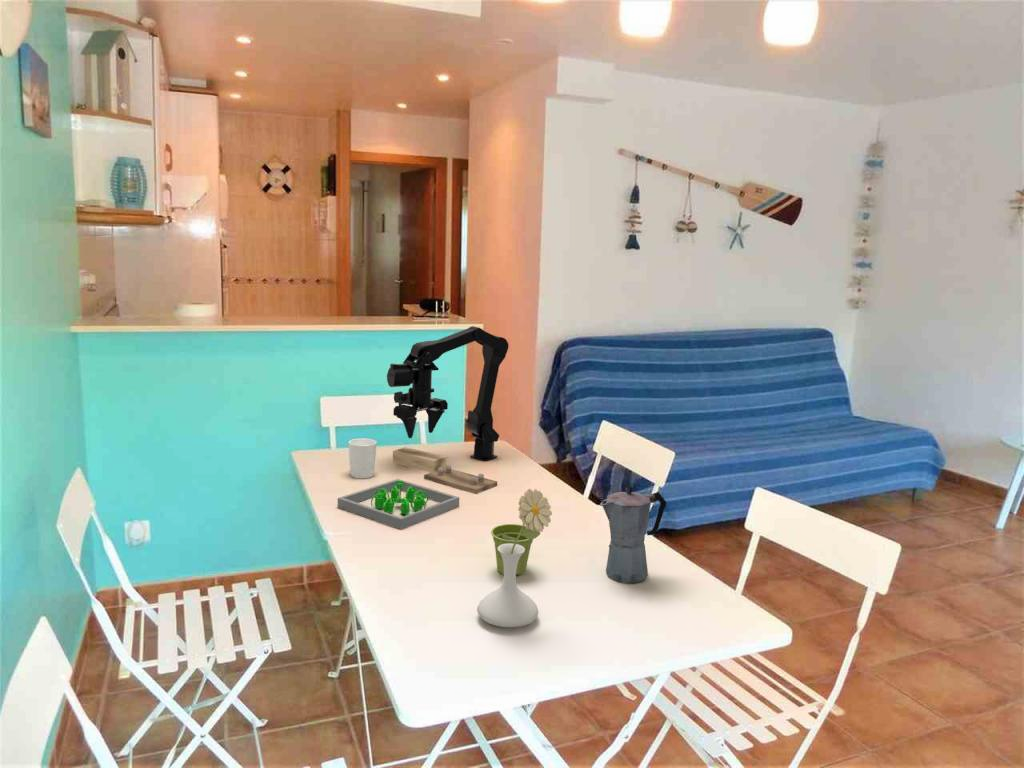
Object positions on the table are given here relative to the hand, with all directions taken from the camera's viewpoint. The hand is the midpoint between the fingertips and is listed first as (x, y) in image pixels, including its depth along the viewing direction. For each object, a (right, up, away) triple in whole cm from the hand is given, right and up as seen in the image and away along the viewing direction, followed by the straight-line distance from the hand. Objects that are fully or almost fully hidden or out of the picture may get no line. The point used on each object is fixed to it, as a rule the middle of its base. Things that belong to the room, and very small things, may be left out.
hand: (420, 435), depth 232 cm
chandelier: (-1, -17, -35) cm, 39 cm away
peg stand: (+13, -13, -12) cm, 22 cm away
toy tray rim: (-1, -16, -35) cm, 39 cm away
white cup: (-16, -11, -11) cm, 22 cm away
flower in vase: (+28, -28, -90) cm, 98 cm away
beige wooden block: (-1, -10, +2) cm, 10 cm away
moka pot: (+53, -26, -68) cm, 90 cm away
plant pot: (+28, -24, -69) cm, 79 cm away
